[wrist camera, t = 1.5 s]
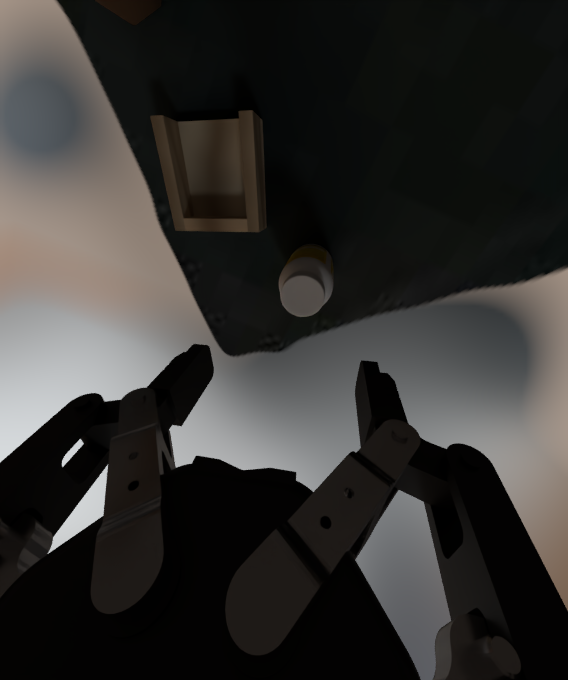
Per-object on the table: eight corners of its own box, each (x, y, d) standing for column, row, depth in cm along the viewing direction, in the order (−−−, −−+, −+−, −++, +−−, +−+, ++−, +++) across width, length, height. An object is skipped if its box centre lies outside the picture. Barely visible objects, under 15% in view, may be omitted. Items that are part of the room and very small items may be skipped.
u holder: (262, 120, 23) (252, 110, 20) (266, 227, 28) (259, 232, 25) (171, 124, 25) (150, 116, 22) (191, 226, 30) (175, 230, 27)
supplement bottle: (280, 260, 30) (260, 287, 22) (317, 233, 28) (311, 252, 20) (304, 295, 32) (294, 332, 24) (341, 272, 30) (345, 305, 21)
